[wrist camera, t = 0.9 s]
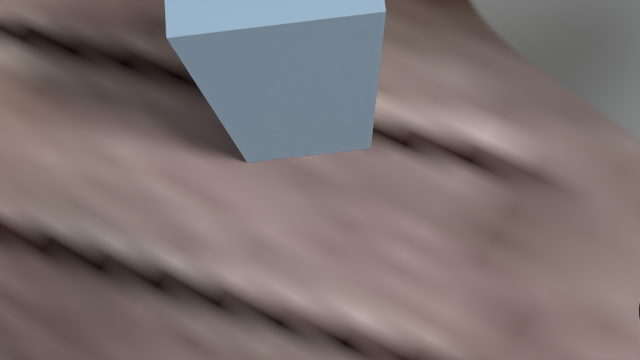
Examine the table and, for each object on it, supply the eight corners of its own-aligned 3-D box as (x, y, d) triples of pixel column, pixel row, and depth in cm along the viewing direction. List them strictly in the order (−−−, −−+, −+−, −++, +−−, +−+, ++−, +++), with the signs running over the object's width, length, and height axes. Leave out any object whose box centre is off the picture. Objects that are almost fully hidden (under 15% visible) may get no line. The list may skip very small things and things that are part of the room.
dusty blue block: (370, 148, 22) (386, 11, 12) (247, 162, 22) (166, 37, 12) (355, 34, 23) (359, -174, 13) (238, 49, 23) (156, -148, 14)
